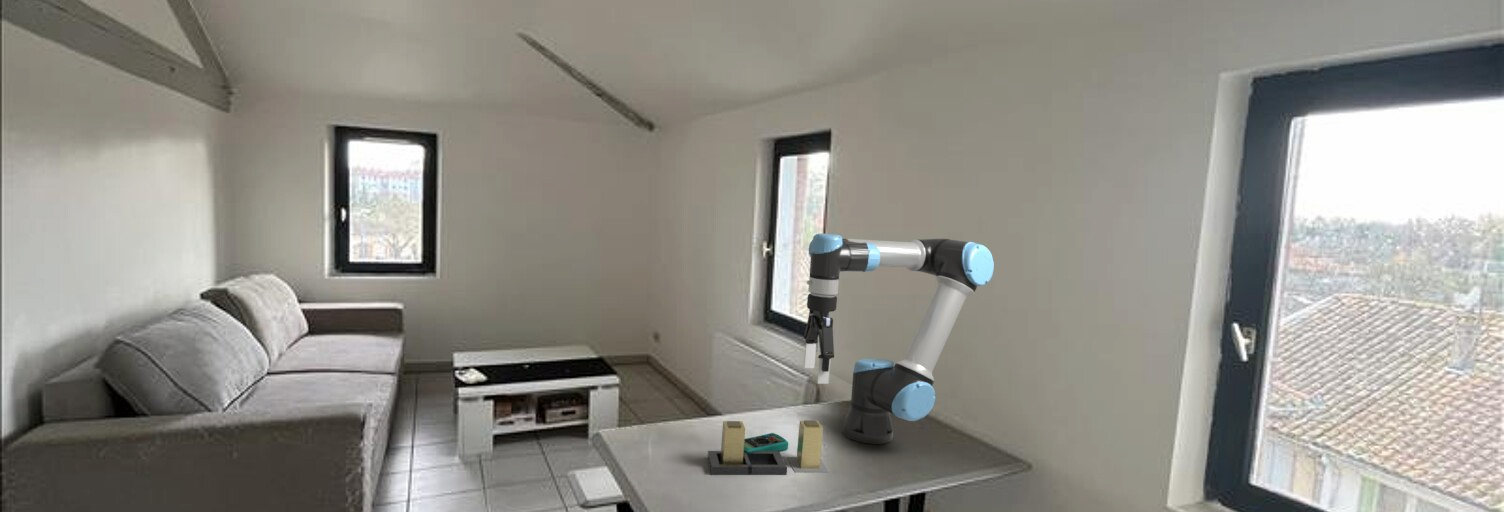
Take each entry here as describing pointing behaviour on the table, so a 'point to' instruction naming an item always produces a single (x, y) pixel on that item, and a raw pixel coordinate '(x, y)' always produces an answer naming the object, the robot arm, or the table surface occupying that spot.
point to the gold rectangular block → (732, 443)
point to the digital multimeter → (765, 443)
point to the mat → (799, 470)
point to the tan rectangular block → (809, 444)
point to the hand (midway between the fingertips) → (815, 375)
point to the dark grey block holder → (749, 464)
